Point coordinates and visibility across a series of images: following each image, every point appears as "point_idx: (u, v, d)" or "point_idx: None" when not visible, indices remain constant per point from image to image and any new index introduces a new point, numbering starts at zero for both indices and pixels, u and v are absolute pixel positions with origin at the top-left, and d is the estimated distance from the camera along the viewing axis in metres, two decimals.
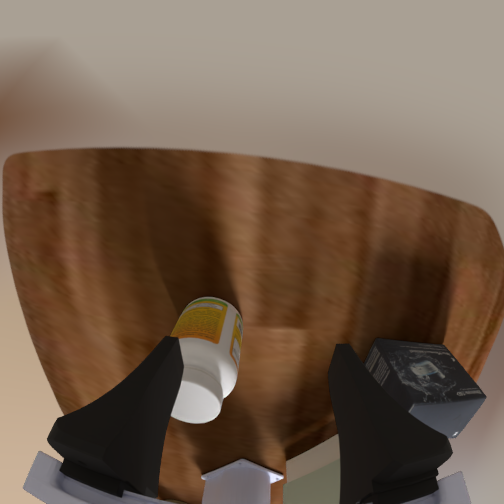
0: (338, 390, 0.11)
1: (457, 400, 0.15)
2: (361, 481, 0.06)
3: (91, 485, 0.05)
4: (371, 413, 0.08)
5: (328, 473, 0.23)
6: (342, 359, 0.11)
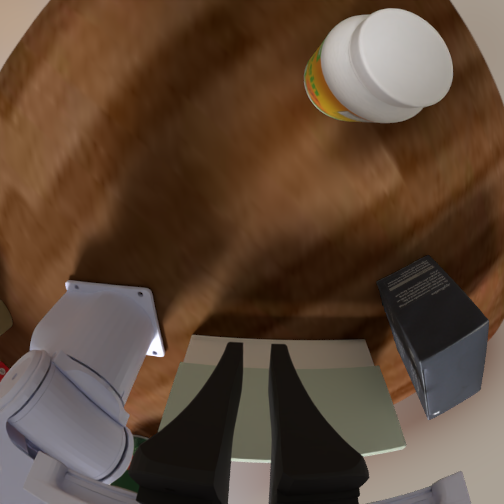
0: (271, 391, 0.11)
1: (484, 362, 0.14)
2: (274, 488, 0.07)
3: (91, 485, 0.05)
4: (283, 418, 0.08)
5: (265, 380, 0.20)
6: (272, 359, 0.11)
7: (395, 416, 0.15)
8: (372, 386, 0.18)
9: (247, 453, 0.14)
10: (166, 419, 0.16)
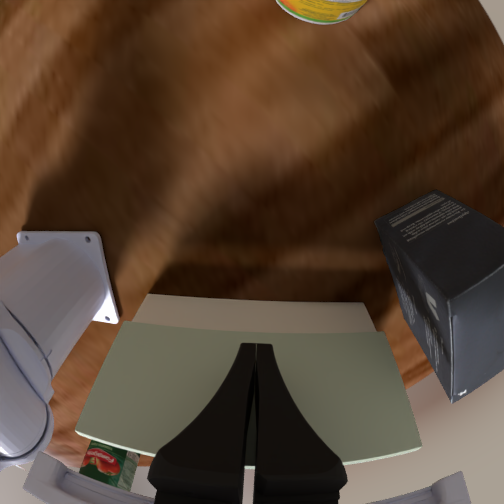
0: (256, 391, 0.11)
1: None
2: (254, 488, 0.07)
3: (91, 485, 0.05)
4: (262, 418, 0.08)
5: (229, 347, 0.15)
6: (256, 359, 0.11)
7: (407, 403, 0.11)
8: (376, 359, 0.14)
9: None
10: (94, 395, 0.11)
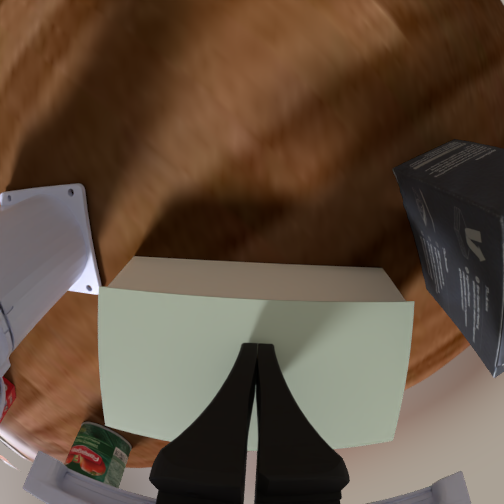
0: (257, 391, 0.11)
1: None
2: (256, 488, 0.07)
3: (91, 485, 0.05)
4: (264, 418, 0.08)
5: (226, 326, 0.13)
6: (257, 359, 0.11)
7: (400, 400, 0.12)
8: (391, 346, 0.12)
9: None
10: (105, 391, 0.12)
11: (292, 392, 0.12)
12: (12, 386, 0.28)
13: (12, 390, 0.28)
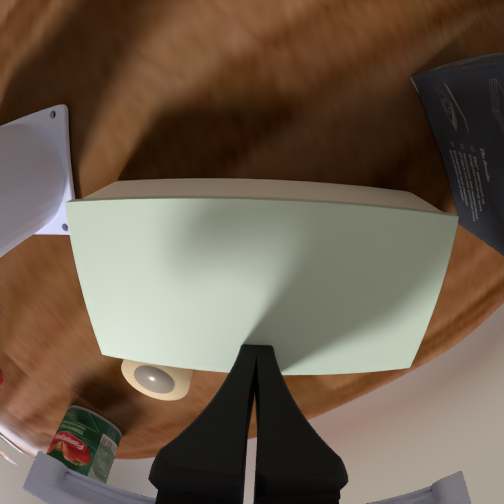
0: (256, 391, 0.11)
1: None
2: (255, 488, 0.07)
3: (91, 485, 0.05)
4: (263, 418, 0.08)
5: (224, 235, 0.10)
6: (256, 359, 0.11)
7: (424, 327, 0.11)
8: (426, 266, 0.10)
9: (207, 365, 0.12)
10: (95, 319, 0.12)
11: (306, 313, 0.11)
12: None
13: None
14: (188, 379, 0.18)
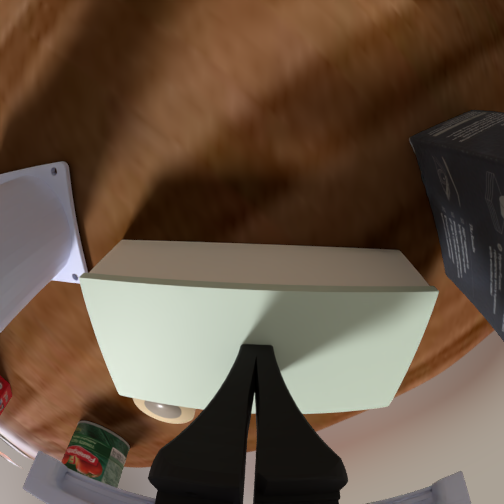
0: (256, 391, 0.11)
1: None
2: None
3: (91, 485, 0.05)
4: (263, 418, 0.08)
5: (225, 316, 0.11)
6: (256, 359, 0.11)
7: (402, 377, 0.13)
8: (404, 333, 0.11)
9: None
10: (112, 369, 0.13)
11: (296, 371, 0.12)
12: (7, 384, 0.26)
13: (7, 388, 0.26)
14: None
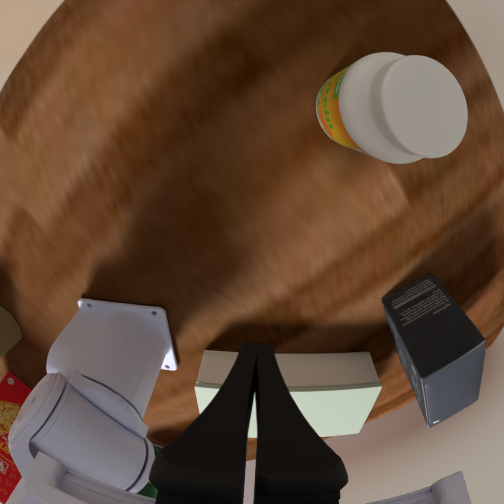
0: (256, 391, 0.11)
1: (481, 376, 0.15)
2: (255, 488, 0.07)
3: (91, 485, 0.05)
4: (263, 418, 0.08)
5: None
6: (256, 359, 0.11)
7: (364, 420, 0.23)
8: (363, 402, 0.22)
9: None
10: None
11: (307, 419, 0.23)
12: None
13: None
14: None
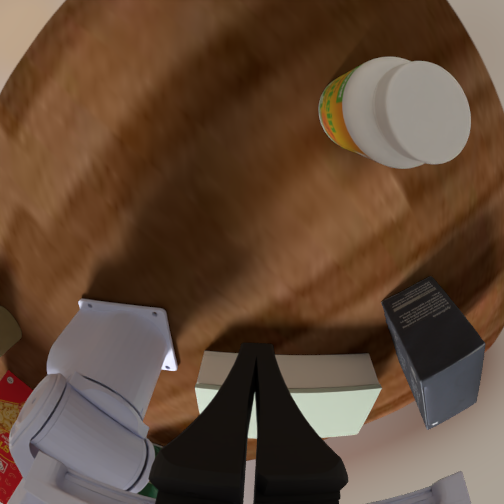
0: (256, 391, 0.11)
1: (480, 379, 0.15)
2: (255, 488, 0.07)
3: (91, 485, 0.05)
4: (263, 418, 0.08)
5: None
6: (256, 359, 0.11)
7: (363, 421, 0.23)
8: (362, 404, 0.22)
9: None
10: None
11: (307, 420, 0.23)
12: None
13: None
14: None
